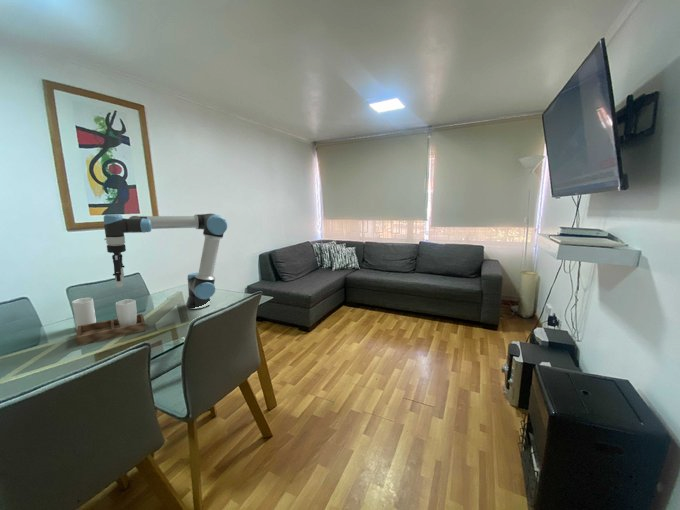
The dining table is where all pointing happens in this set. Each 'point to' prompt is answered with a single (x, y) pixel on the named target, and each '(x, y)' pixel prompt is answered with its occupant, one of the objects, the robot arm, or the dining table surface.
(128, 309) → the cup
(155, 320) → the dining table surface
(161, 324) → the dining table surface
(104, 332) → the tray
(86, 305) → the cup
